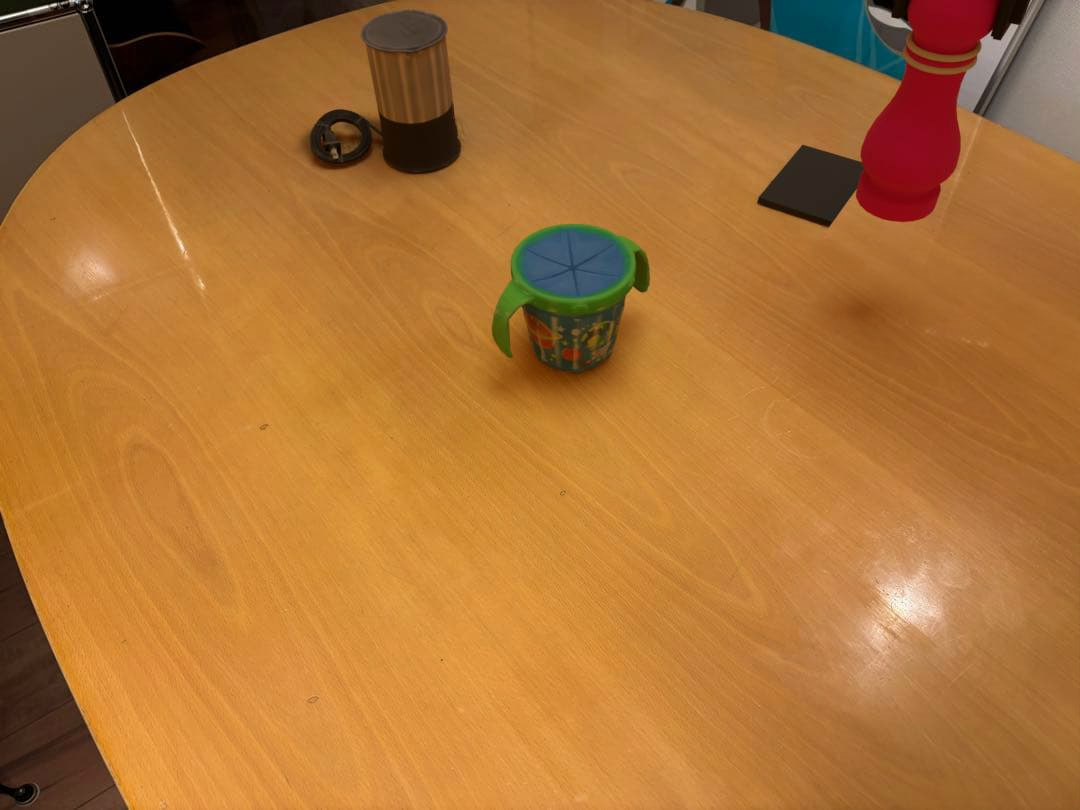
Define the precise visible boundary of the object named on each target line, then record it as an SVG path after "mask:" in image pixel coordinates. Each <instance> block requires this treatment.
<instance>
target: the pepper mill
mask: <svg viewBox="0 0 1080 810" xmlns="http://www.w3.org/2000/svg"><path fill="white" fill-rule="evenodd" d="M1002 1H1003V0H909V4H908V9H907V21H908V24H909V25H910V28H911V29H912V30H911V31H910V32H909V33H908V34H907V36H906V39H905V42H906V45H904V47H903V49H902V56H903V59H904V60H905V61H906V64H905V70H904V74H903V77H902V79H901V82H900V85H899V86H898V89H897V91H896V92H895V94H894V96H892V98H891V99H890V101H889V102H888V103H887V105H886V106H885V107H884V109H883V110H882V111H881V112H880V113H879V114H878V116H877V117H876V118H875V119H874V120H873V122H872V124H871V125H870V127H869V129H868V131H867V132H866V134H865V137H864V140H863V142H862V144H861V147H860V160H861V162H862V164H863V166H864V168H865V170H864V171H863V172H862V174H861V176H860V179H859V183H858V187H857V189H856V191H855V197H856V201H857V203H858V205H859V206H860V207H861V208H862V209H863V210H864V211H865V212H867V213H868V214H870V215H872V216H873V217H876V218H878V219H881V220H885V221H888V222H895V223H909V222H910V223H911V222H916V221H919V220H923V219H926V218H927V217H929V215H931V214H932V213H933V212H934V210H935V208H936V206H937V203H938V201H939V197H940V195H941V192H942V186H941V185H942V183H945V182H947V180H948V179H949V178H950V177H951V176H952V175H953V174H954V172H955V171H956V169H957V166H958V163H959V158H960V155H961V151H962V150H961V149H962V146H961V145H962V137H961V136H962V135H961V130H960V125H959V119H958V98H959V93H960V90H961V87H962V83H963V80H964V79H965V76H966V74H967V72H968V71H969V70H972V68H974V67H975V66H976V64H977V62H978V55H979V53H981V51H982V41H981V40H982V39H984V38H985V37H986V36H988V35H989V34H991V33H992V30H993V27H994V24H995V21H996V18H997V15H998V13H999V10H1000V7H1001V4H1002Z"/></svg>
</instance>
